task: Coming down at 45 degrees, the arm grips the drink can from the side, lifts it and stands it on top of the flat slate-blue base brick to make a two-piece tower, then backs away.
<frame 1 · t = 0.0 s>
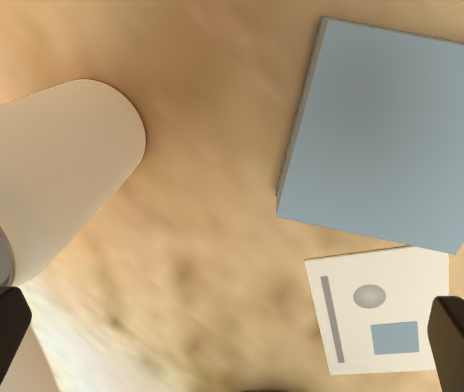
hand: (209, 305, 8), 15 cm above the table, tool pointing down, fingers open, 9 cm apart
base brick: (385, 132, 20), on the table
can: (99, 130, 23), on the table
instruction page: (380, 316, 26), on the table
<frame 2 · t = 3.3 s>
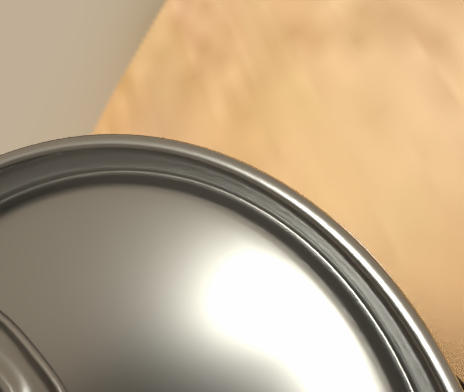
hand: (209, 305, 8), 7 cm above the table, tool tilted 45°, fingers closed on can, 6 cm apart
can: (251, 344, 14), on the table, touching gripper
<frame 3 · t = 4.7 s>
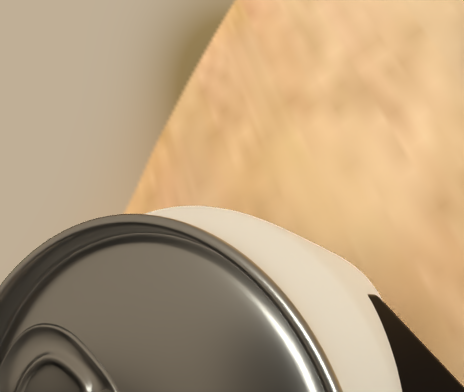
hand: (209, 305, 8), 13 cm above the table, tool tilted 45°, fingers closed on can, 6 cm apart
can: (307, 326, 15), point 5 cm above the table, touching gripper
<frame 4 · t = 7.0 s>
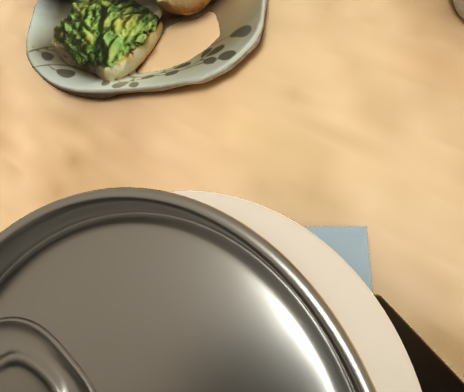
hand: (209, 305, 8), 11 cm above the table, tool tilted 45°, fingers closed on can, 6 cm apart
base brick: (257, 340, 18), on the table
can: (295, 339, 14), point 3 cm above the table, touching base brick, gripper
salad plate: (149, 1, 26), on the table
when the fingers open (11 cm above the table, at t = 7.0 s): can stays where it is, resting on base brick.
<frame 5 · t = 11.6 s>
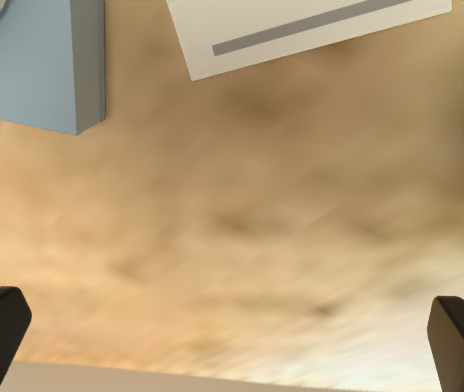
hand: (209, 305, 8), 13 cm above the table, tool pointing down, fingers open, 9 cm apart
base brick: (6, 1, 18), on the table
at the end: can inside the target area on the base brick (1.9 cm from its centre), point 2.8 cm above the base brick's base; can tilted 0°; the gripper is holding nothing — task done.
